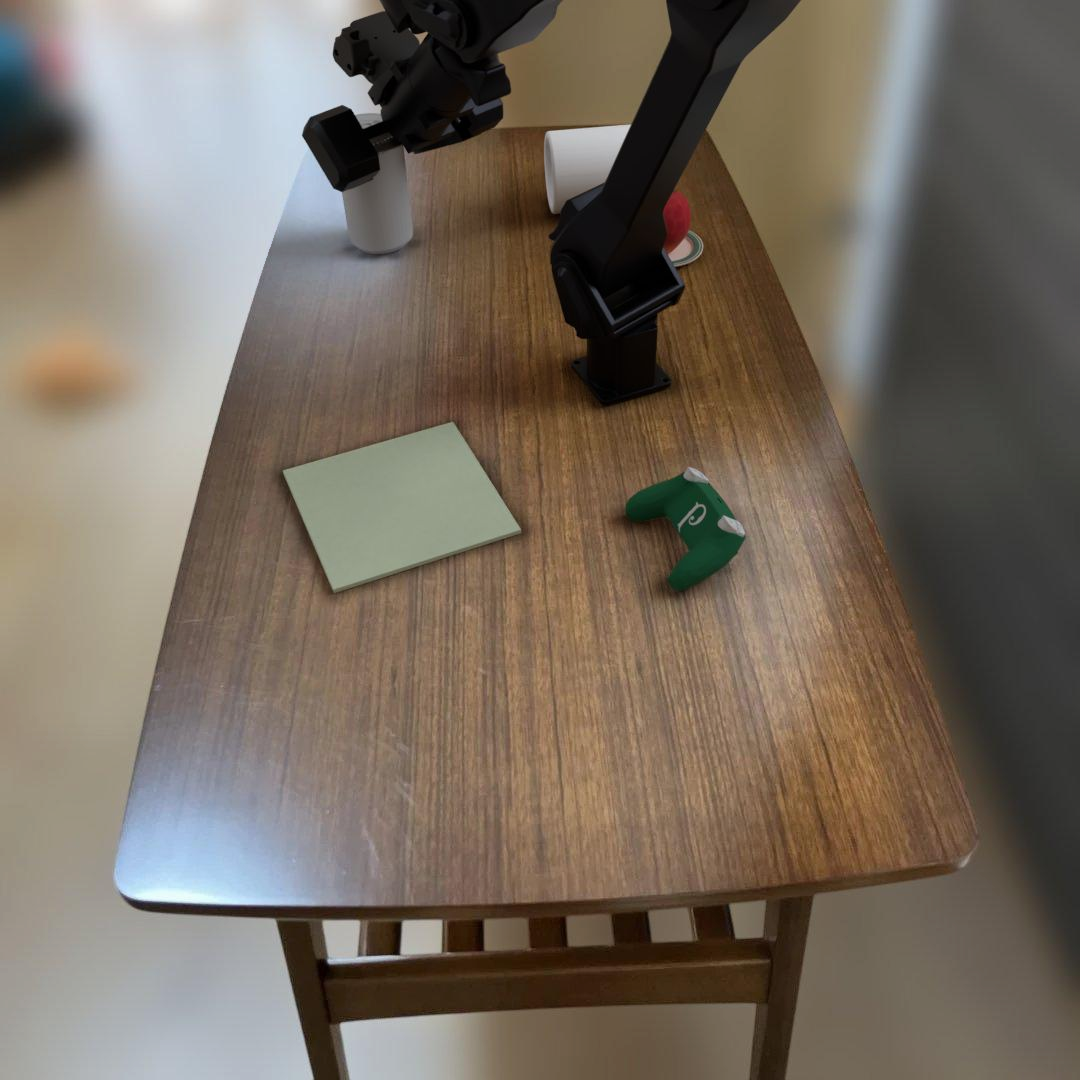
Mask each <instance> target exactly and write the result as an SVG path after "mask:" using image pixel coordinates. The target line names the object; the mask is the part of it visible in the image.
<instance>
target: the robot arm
mask: <svg viewBox="0 0 1080 1080" xmlns="http://www.w3.org/2000/svg"><path fill="white" fill-rule="evenodd" d="M563 1H564V0H379V2H380V4H381V6H382V8H383V10H382V11H378V12H376V13H373V14H370V15H366V16H364V17H361V18H358V19H354V20H352V21H351V22H350V23H349V26H346V27H344V28H343V27H342V28H341V30H340V31H341V32H340V34H339V35H338V36H335V38H334V42H333V49H332V58H333V60H334V62H335V64H336V65H338V67H339V68H340V69H341V70H342V71H343V72H344V73H345V74H346V75H347V77H349V78H354V77H356V76H359V75H360V76H363V77H364V78H365V80H366V81H367V82H368V83H370V84H372V85H371V87H370V88H369V90H368V91H367V95H368V97H369V98H370V100H371V102H372V104H373V105H374V106H380V108H381V109H380V114H381V118H382V122H379V123H377V124H374V125H372V126H369V127H367V128H364V129H363V128H362V126H361V125H360V123H359V121H358V119H357V118H356V116H355V115H356V114H355V112H354V110H353V109H352V108H350V107H348V106H346V105H344V104H340V105H338V106H335V107H333V108H330V109H328V110H325V111H322V112H320V113H317V114H313V115H312V116H310V117H309V118H308V120H307V121H306V123H305V125H304V127H303V129H302V133H301V136H302V138H303V140H304V142H305V143H306V146H307V147H308V148H309V151H311V153H312V155H313V157H314V159H315V161H316V162H317V164H318V165H319V167H320V168H321V171H322V172H323V174H324V175H325V177H326V179H327V181H328V182H329V184H330V185H331V187H332V189H333V190H335V191H338V192H340V193H342V192H344V191H346V190H350V189H353V188H355V187H357V186H360V185H362V184H364V183H367V182H369V181H372V180H373V177H374V176H376V175H377V173H378V172H379V171H380V163H379V155H381V154H384V153H386V152H389V151H391V150H393V149H396V148H398V147H401V146H403V147H404V150H405V151H406V153H407V154H408V155H409V154H411V153H413V154H414V155H419V154H423V153H426V152H430V151H434V150H437V149H441V148H445V147H449V146H453V145H456V144H457V145H458V144H459V143H463V142H465V141H468V140H470V139H472V138H473V139H474V137H477V136H479V135H481V134H483V133H486V132H488V131H490V130H492V129H494V128H496V127H497V125H499V123H501V121H502V120H503V119H504V102H503V100H502V98H504V97H506V96H509V95H510V94H511V93H512V85H511V80H510V78H509V77H508V74H507V71H506V70H507V69H506V64H504V63H502V62H501V61H500V58H499V57H500V56H499V54H501V53H503V52H506V51H508V50H512V49H514V48H516V47H519V46H522V45H525V44H528V43H530V42H533V41H535V39H537V38H538V37H539V36H540V35H541V33H542V32H543V31H544V30H546V28H547V27H548V26H549V24H551V22H553V21H554V19H556V15H557V12H558V8H559V5H560V4H561V3H562V2H563ZM801 1H802V0H665V4H666V9H667V16H668V22H669V27H670V35H669V38H668V41H667V44H666V46H665V48H664V51H663V52H662V55H661V58H660V60H659V61H658V64H657V66H656V68H655V71H654V72H653V75H652V77H651V79H650V81H649V83H648V86H647V88H646V91H645V92H644V95H643V96H642V99H641V101H640V104H639V106H638V108H637V111H636V112H635V115H634V117H633V120H632V122H631V126H630V128H629V130H628V132H627V135H626V137H625V139H624V141H623V143H622V146H621V148H620V150H619V152H618V155H617V157H616V159H615V161H614V163H613V166H612V168H611V170H610V172H609V174H608V177H607V179H606V181H605V182H604V183H602V184H600V185H598V186H596V187H594V188H592V189H589V190H587V191H585V192H583V193H581V194H579V195H577V196H575V197H573V198H570V199H568V200H567V201H566V202H565V204H564V206H563V207H562V209H561V213H560V214H559V217H558V221H557V225H556V227H555V228H554V230H553V231H552V232H551V233H549V234H548V239H549V240H550V241H553V243H552V245H551V247H550V248H551V249H550V253H549V264H550V267H551V275H552V279H553V282H554V285H555V286H554V287H555V289H556V293H557V297H558V300H559V304H560V308H561V311H562V312H561V313H562V315H563V319H564V322H565V324H567V325H569V326H570V327H572V328H574V331H576V333H575V336H576V337H577V338H579V339H580V340H586V356H582V357H578V358H575V359H573V360H571V363H570V367H571V370H572V371H574V373H575V374H576V375H577V377H578V378H579V380H581V382H582V383H583V384H584V385H585V387H586V388H587V389H588V391H589V392H590V393H591V394H592V395H593V397H594V398H595V399H596V400H597V401H598V403H599V404H600V405H601V406H610V405H613V404H616V403H621V402H623V401H627V400H630V399H634V398H637V397H640V396H643V395H644V396H645V395H647V394H651V393H654V392H657V391H661V390H664V389H668V388H670V387H671V386H672V378H671V377H670V376H669V375H668V374H667V373H666V372H665V371H664V369H663V368H662V367H661V366H660V365H659V364H658V363H657V352H658V333H659V332H658V331H659V326H658V318H659V317H658V316H659V313H662V312H664V311H665V310H667V309H668V308H671V307H675V306H676V305H678V304H679V303H680V301H681V299H682V296H683V293H684V292H685V290H686V284H685V282H684V280H683V279H682V277H681V275H680V273H679V272H678V270H677V268H676V267H675V266H674V265H673V263H672V261H671V259H670V258H669V256H668V254H667V252H666V251H665V249H664V247H663V246H664V243H665V240H666V237H667V227H666V223H665V218H664V214H663V211H664V208H665V206H666V204H667V202H668V200H669V198H670V196H671V194H672V192H673V190H676V187H677V184H678V183H679V181H680V179H681V177H682V176H683V173H684V171H685V170H686V169H687V166H688V164H689V162H690V160H691V158H693V157H692V156H693V155H694V153H695V151H696V149H697V147H698V145H699V144H700V142H701V139H702V137H703V136H704V134H705V132H706V130H707V128H708V126H709V124H710V122H711V120H712V119H713V117H714V115H715V113H716V111H717V110H718V107H719V106H720V104H721V102H722V100H723V98H724V97H725V94H726V92H727V91H728V89H729V87H730V86H731V84H732V81H733V79H734V78H735V76H736V74H737V72H738V70H739V68H740V66H741V64H742V63H743V61H744V60H745V59H746V57H747V56H748V55H749V54H750V53H752V51H754V50H755V49H756V48H757V47H758V46H759V45H760V44H761V43H762V42H763V41H764V40H766V39H767V38H768V37H769V36H770V35H771V34H772V33H773V32H775V30H776V29H777V28H778V27H780V26H781V25H782V24H783V22H785V21H786V20H787V19H788V17H789V16H790V15H791V14H792V12H793V11H794V10H795V9H796V8H797V6H798V5H799V4H800V2H801ZM425 33H427V34H426V35H425V36H424V38H423V39H422V41H421V42H420V40H419V38H418V37H417V36H416V35H422V34H425ZM391 136H393V137H391ZM387 138H389V139H387ZM384 139H385V141H384ZM381 140H382V141H381ZM380 141H381V142H382V143H381V142H380ZM376 142H378V144H377V143H376ZM374 143H375V144H374ZM373 144H374V145H373Z"/></svg>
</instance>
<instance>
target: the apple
mask: <svg viewBox="0 0 1080 1080" xmlns="http://www.w3.org/2000/svg"><path fill="white" fill-rule="evenodd" d="M663 214H664V218H665V223H666V227H667V237H666V240H665V243H664V246H663V247H664V249H665V251H666V252H667V254H668V256H669V258H670V259H671V261H672V263H673V265H674V266H675V268H676V267H681V266H685V265H688V264H691V263H692V262H694V261H696V260H697V259H699V257H700V256H701V255H702V254H703V250H704V242H703V240H702V239H701V238H700V237H699V235H697V234H696V233H695V232H693V231H691V230H690V228H691V222H692V213H691V207H690V204H689V201H688V199H687V198H686V197H685V196H684V195H683V194H682V193H681V192H680V191H679V190H676V189H674V190H673V192H672V194H671V196H670V198H669V200H668V202H667V204H666V206H665V208H664V211H663Z"/></svg>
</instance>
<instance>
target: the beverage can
mask: <svg viewBox="0 0 1080 1080" xmlns="http://www.w3.org/2000/svg"><path fill="white" fill-rule="evenodd" d="M355 116H356V118H357V119H358V121H359V123H360V125H361V126H362V128H363V129H364V128H367V127H369V126H372V125H374V124H377V123H379V122H382V118H381V113H379V112H378V113H377V112H367V113H359V114H355ZM391 137H393V136H391ZM387 139H389V138H387ZM381 141H382V140H381ZM381 141H380V142H381ZM384 141H385V139H384ZM376 143H377V144H378V142H376ZM381 143H382V142H381ZM374 144H375V143H374ZM374 144H373V145H374ZM379 163H380V171H379V172H378V173H377V175H376V176H374V177H373V180H372V181H369V182H367V183H364V184H362V185H360V186H357V187H355V188H353V189H350V190H346V191H344V192H341V197H342V203H343V208H344V215H345V221H346V229H347V233H348V240H349V242H350V243H351V245H353V246H354V247H355V248H357V249H358V250H360V251H362V252H364V253H366V254H372V255H384V254H385V255H386V254H390V253H393V252H397V251H399V250H400V249H402V248H404V247H405V246H406V245H407V244H408V243H409V242H410V241H411V239H413V236H414V226H413V218H412V217H413V216H412V208H411V199H410V192H409V191H410V190H409V184H408V182H409V181H408V174H407V173H408V172H407V165H406V156H405V148H404V146H401V147H398V148H396V149H393V150H391V151H389V152H386V153H384V154H381V155H379Z"/></svg>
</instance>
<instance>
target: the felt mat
mask: <svg viewBox="0 0 1080 1080" xmlns="http://www.w3.org/2000/svg"><path fill="white" fill-rule="evenodd" d="M282 475H283V476H284V479H285V481H286V484H287V486H288V488H289V490H290V493H291V495H292V498H293V500H294V502H295V506H296V507H297V510H298V512H299V515H300V516H301V519H302V521H303V524H304V526H305V529H306V531H307V533H308V536H309V538H310V541H311V543H312V545H313V548H314V550H315V552H316V554H317V556H318V559H319V562H320V564H321V566H322V568H323V571H324V575H326V579H327V580H328V583H329V585H330V588H331V590H332V592H333V594H338V593H339V592H343V591H347V590H349V589H353V588H355V587H358V586H359V587H360V586H362V585H365V584H368V583H372V582H374V581H377V580H380V579H383V578H386V577H389V576H393V575H396V574H400V573H402V572H405V571H409V570H411V569H414V568H417V567H420V566H424V565H426V564H431V563H433V562H436V561H439V560H442V559H443V560H444V559H446V558H449V557H452V556H455V555H458V554H461V553H464V552H467V551H471V550H473V549H474V550H475V549H476V548H477V549H478V548H480V547H482V546H486V545H488V544H492V543H496V542H498V541H501V540H504V539H509V538H511V537H514V536H517V535H521V534H522V528H521V527H520V525H519V524H518V522H517V521H516V519H515V517H514V515H513V514H512V513H511V511H510V510H509V508H508V506H507V505H506V503H505V502H504V500H503V498H502V497H501V495H500V494H499V492H498V491H497V489H496V488H495V486H494V485H493V484H494V483H493V482H492V481H491V480H490V478H489V476H488V475H487V473H486V472H485V469H484V468H483V467H482V465H481V463H480V462H479V460H478V458H477V457H476V456H475V454H474V452H473V451H472V449H471V448H470V446H469V444H468V443H467V441H466V440H465V438H464V436H463V435H462V434H461V432H460V430H459V429H458V427H457V426H456V424H455V422H454V421H451V422H447V423H443V424H439V425H435V426H432V427H430V428H426V429H423V430H419V431H415V432H412V433H409V434H404V435H401V436H399V437H395V438H391V439H387V440H385V441H384V440H383V441H381V442H377V443H374V444H370V445H366V446H363V447H359V448H356V449H353V450H349V451H345V452H342V453H340V454H336V455H332V456H328V457H324V458H321V459H318V460H315V461H314V460H313V461H311V462H307V463H304V464H301V465H297V466H293V467H290V468H287V469H283V470H282Z"/></svg>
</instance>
